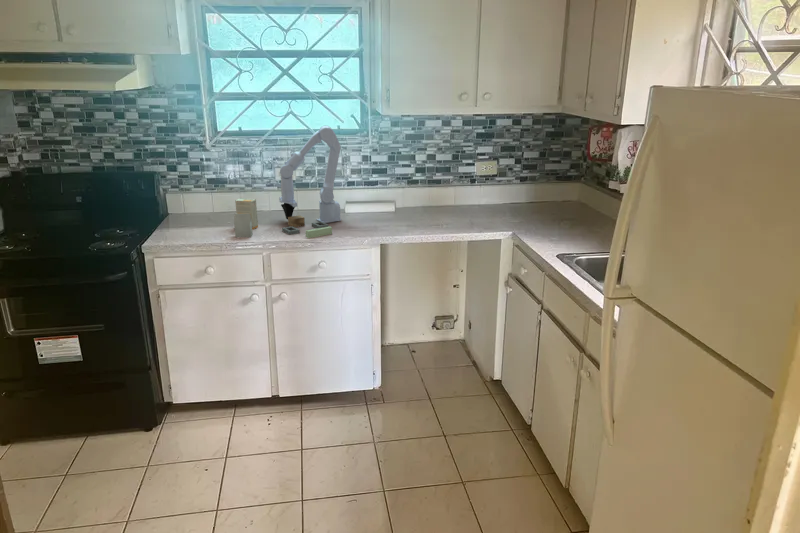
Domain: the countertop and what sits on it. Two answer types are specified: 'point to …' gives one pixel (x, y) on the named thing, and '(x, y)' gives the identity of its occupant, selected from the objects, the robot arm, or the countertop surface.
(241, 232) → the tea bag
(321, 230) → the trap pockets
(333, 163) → the robot arm
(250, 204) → the supplement box
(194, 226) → the countertop surface
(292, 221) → the tan block
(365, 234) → the countertop surface
